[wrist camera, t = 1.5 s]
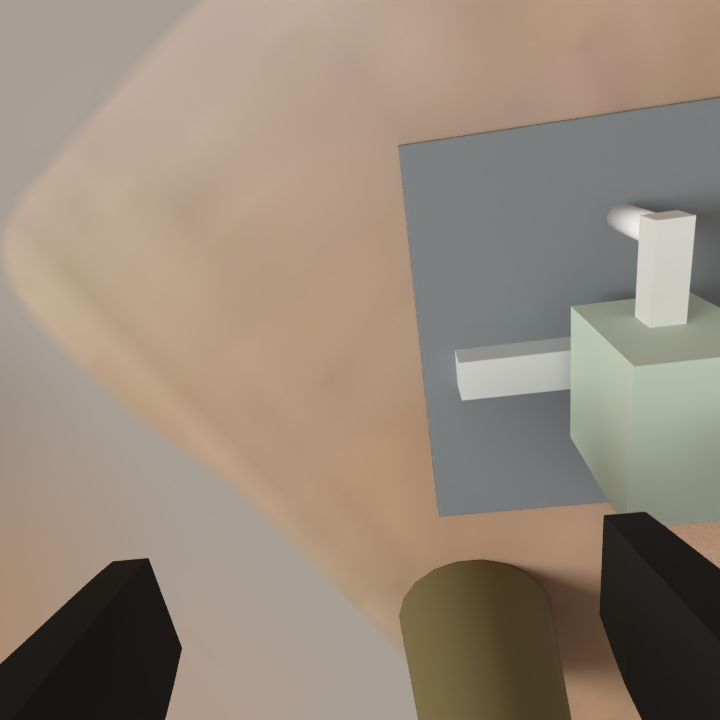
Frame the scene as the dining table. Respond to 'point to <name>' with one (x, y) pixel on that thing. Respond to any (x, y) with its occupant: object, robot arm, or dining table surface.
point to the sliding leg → (651, 380)
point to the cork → (482, 645)
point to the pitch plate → (537, 282)
